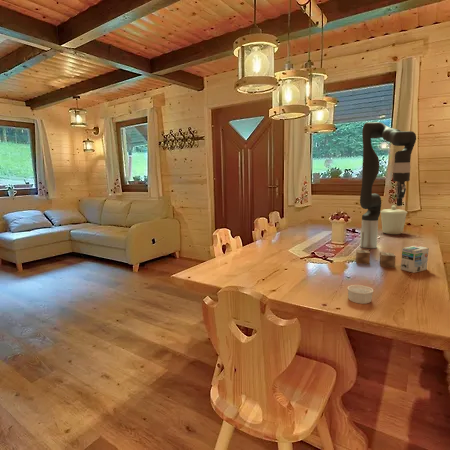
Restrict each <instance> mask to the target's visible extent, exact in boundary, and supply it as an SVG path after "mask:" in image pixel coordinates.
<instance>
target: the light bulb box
mask: <svg viewBox="0 0 450 450" xmlns="http://www.w3.org/2000/svg"><path fill="white" fill-rule="evenodd" d="M401 250H402V251H401V263H400V270H402V271H405V272H410V273H413V274H414V273H418V272H422V271H426V270H428V260H429V248H428V247H425V246H421V245H416V244H415V245H411V246H406V247H402V249H401Z"/></svg>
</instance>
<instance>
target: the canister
mask: <svg viewBox="0 0 450 450" xmlns="http://www.w3.org/2000/svg"><path fill="white" fill-rule="evenodd" d="M397 207H398V206H397V205H391V208H384V209H381V211H380V218H381V229H382V230H381V231H382V232H383V233H384V234H387V235H401V234H402V233H403V231H404V228H405V223H406V218H407V214H408V212H409V211H406V210H404V209H399V208H397Z"/></svg>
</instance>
